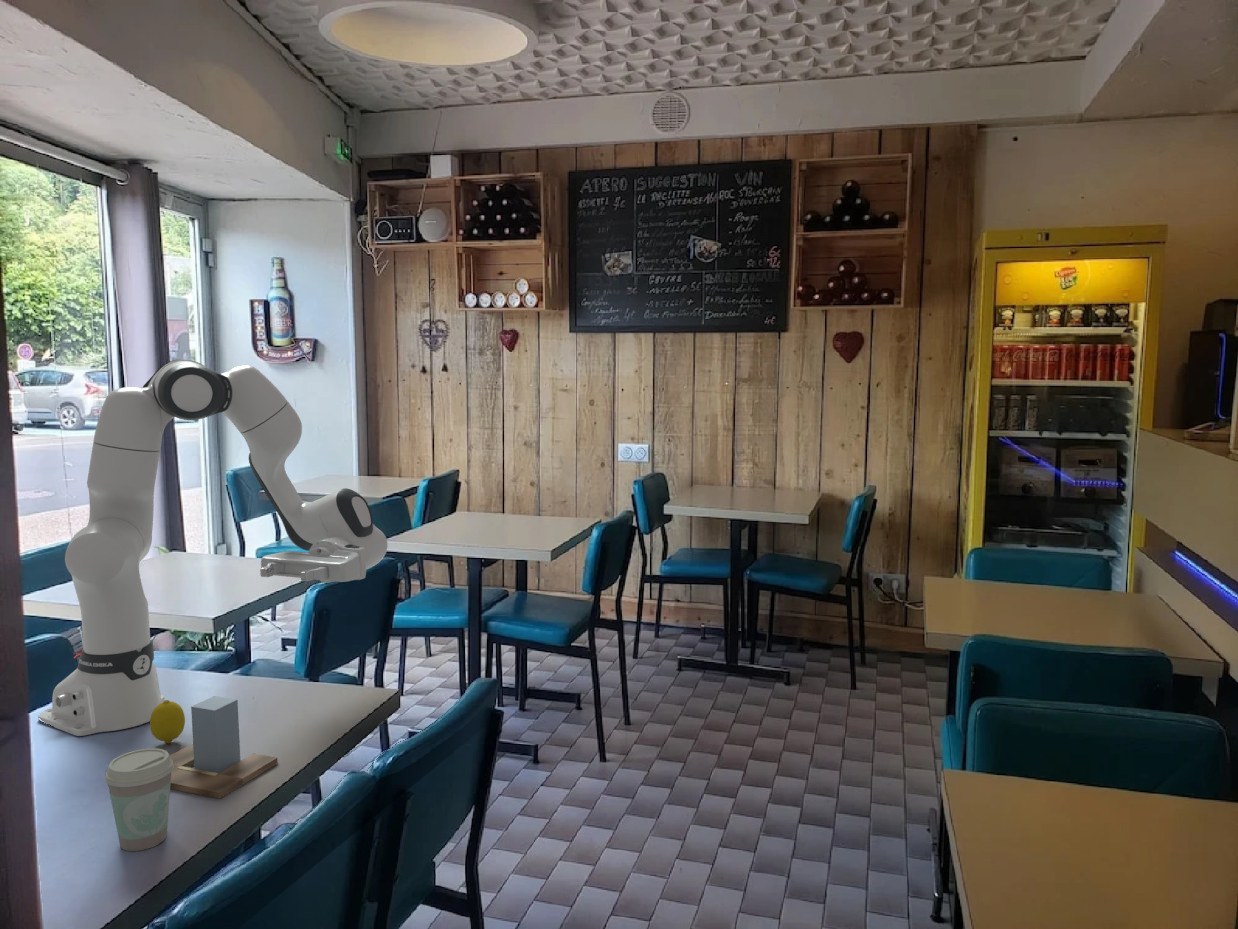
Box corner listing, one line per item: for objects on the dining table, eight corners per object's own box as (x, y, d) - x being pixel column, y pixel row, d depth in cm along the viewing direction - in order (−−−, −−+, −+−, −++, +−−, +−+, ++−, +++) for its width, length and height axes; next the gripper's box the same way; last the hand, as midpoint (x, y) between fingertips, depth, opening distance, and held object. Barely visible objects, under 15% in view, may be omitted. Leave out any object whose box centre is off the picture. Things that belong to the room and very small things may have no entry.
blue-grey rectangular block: (194, 769, 144) (191, 706, 143) (217, 757, 149) (214, 696, 147) (218, 774, 142) (214, 710, 141) (240, 761, 147) (237, 699, 146)
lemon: (192, 737, 156) (190, 695, 156) (173, 750, 151) (171, 707, 150) (164, 736, 157) (161, 694, 156) (144, 749, 152) (141, 705, 151)
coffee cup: (110, 864, 116) (105, 779, 115) (107, 835, 123) (102, 755, 122) (181, 845, 121) (176, 763, 120) (173, 819, 128) (169, 741, 127)
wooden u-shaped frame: (131, 780, 140) (131, 774, 140) (194, 748, 152) (194, 742, 152) (219, 798, 134) (218, 792, 134) (277, 763, 146) (277, 757, 146)
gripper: (288, 541, 179) (238, 554, 166) (371, 548, 173) (326, 562, 160) (289, 571, 180) (240, 586, 167) (372, 578, 173) (328, 595, 160)
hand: (283, 574), depth 163 cm, fingers open, 8 cm apart
